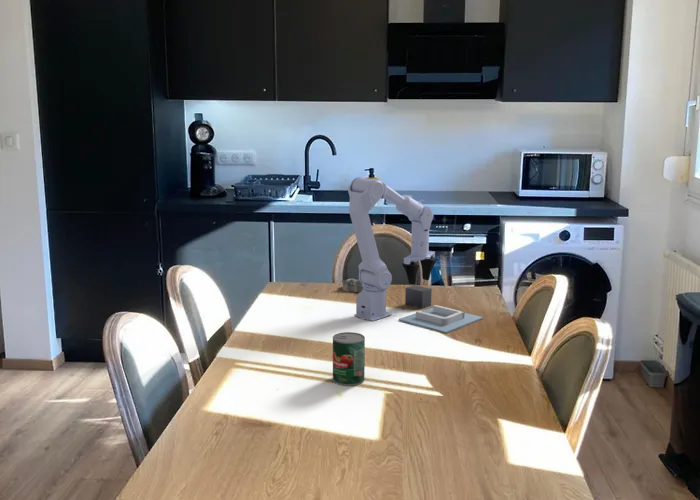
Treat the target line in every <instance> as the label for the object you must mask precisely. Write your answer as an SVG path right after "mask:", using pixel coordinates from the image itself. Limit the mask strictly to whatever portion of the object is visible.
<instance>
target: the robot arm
mask: <svg viewBox="0 0 700 500" xmlns="http://www.w3.org/2000/svg"><path fill="white" fill-rule="evenodd" d="M347 191H348V192H347V193H348V195H349V206H348V207H349V208H348V212H349V215H350V216H349V217H350V221H351V223H352V228H353V231H354V234H355V235H354V236H355V239H356V243H357V247H358V251H359V253H360V258H361V262H360V263H359V264H358V266H357V267H358V279H359V280H360V282H361V283H362V287H364V288H363V290H362V291H359V292H358V294H357V295H356V299H355V300H356V303H355V304H356V307H355V309H356V311H355V312H356V313H355V314H354V317H356V318H359V319H364V320H367V321H371V322H374V321H379V320H380V319H383V318H386V317H389V316H392V312H387V291H388V289H389V287H390V286H391V284H392V281H393V276H392V274H391V272H390V271H389V269H388V267H387V264H385V262H384V261H383V260H382V259H381V257H380V254H379V250H378V247H377V246H378V245H377V242H376V238H375V234H374V231H373V227H372V222H371V218H370V215H369V212H370V211H371V210H372V209H373V208H374V207H375V206H376V204H378V203H379V201H380V200H381V199H384V200H385V201H388V202H389V203H392V204H393V205H395V209H396V210H397V212H400V213H401V214H403V215H404V216H406V217H407V218H408V220H409V221H410V222H411V241H410V246H411V247H410V254H409V255H407V256H406V257H403V262H402V267H403V269H404V270H405V273H406V276H407V280H408V284H410V285H412V286H413V285H416V281H417V273H418V270H419V267H420V265H421V276H422V280H425V281H429V280H430V277H431V274H432V270H433V268H434V266H435V264H436V263H437V259H436V253H435V252H436V251H432V250H430V249H429V246H430V245H429V244H430V243H429V241H430V228H431V225H432V221H433V219H434V215H435V214H434V213H433V210H432V209H431V208H430V206H426V205H423V204H422V202H421V201H417V200H415V199H414V198H413V195H411V194H403V195H400V194H399V193H398V192H397V191H395V190H394V189H392V187H390V186H388V185H387V183H386V182H383V181H381V180H379V179H369V178H364V177H359V176H358V177H355V178H353V179H352V181H351V182H350V184H349V186H348V188H347ZM416 262H419V263H420V264H416Z"/></svg>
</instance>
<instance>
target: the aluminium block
mask: <svg viewBox="0 0 700 500" xmlns="http://www.w3.org/2000/svg"><path fill="white" fill-rule="evenodd" d="M404 301H405V303H404V304H405V306H409V307H413V308H417V309H420V310H423V309H426V308H428V307H429V308H430V307H431V306H432V288H431V287H427V286H421V285H417V284H414V285H413V284H412V285H410V286H406V287H405V299H404Z"/></svg>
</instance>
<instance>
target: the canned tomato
mask: <svg viewBox="0 0 700 500" xmlns="http://www.w3.org/2000/svg"><path fill="white" fill-rule="evenodd" d="M365 340H366V339H365V335H363V334H362V333H358V332H352V331H351V332H350V331H343V332H338V333H335V334H334V335H333V336H332V381H333V382H334V383H335V384H338V385H339V386H345V387H347V386H349V387H352V386H353V387H355V386H359V385H361V384H363V383H364V382H365V370H366V369H365V365H366V364H365V357H366V353H365V351H366V350H365V346H366V345H365V344H366V343H365Z"/></svg>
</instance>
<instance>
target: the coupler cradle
mask: <svg viewBox="0 0 700 500" xmlns="http://www.w3.org/2000/svg"><path fill="white" fill-rule="evenodd" d="M483 319H484V317H483V316H479V315H475V314H472V313H468V312H467V313H466V312H465V311H462V310H458V309H453V308H450V307H445V306H441V305H439V304H438V305H436V304H434V305H432V307H429V308H427V309H426V308H425V309H424V310H423V309H422V311H420V310H417V311H415V313H413V314H409V315H407V316H404V317H400V318H398V322H402V323H406V324H410V325H413V326H416V327H417V326H418V327H421V328H424V329H429V330H431V331H434V332H440V333H443V334H448V333H451V332H454V331H456V330H459V329H461V328H464V327H466V326H469V325H471V324H474V323H476V322H478V321H481V320H483Z"/></svg>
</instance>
